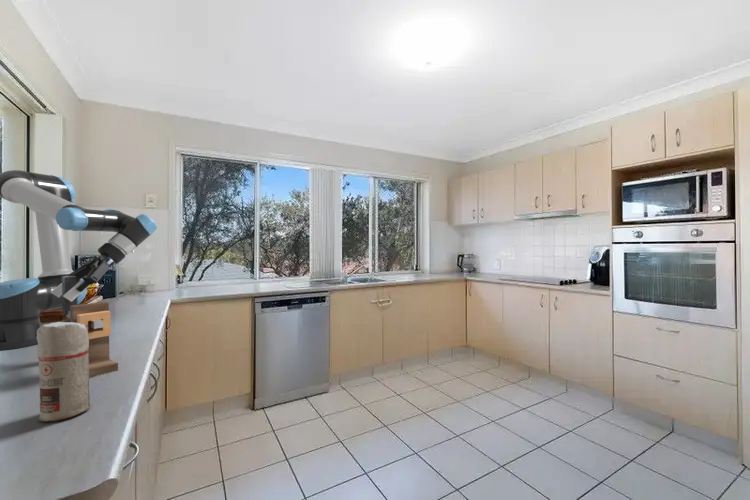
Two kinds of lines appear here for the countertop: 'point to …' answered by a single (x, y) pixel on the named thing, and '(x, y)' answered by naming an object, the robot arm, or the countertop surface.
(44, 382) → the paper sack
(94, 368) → the rail base
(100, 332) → the collar
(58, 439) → the countertop surface
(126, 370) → the countertop surface
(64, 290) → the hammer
